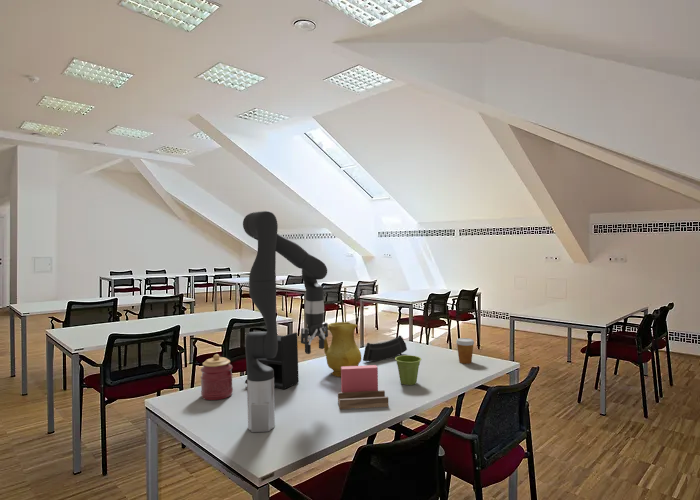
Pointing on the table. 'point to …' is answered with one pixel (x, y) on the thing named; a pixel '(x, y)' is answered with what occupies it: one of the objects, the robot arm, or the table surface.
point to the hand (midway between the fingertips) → (314, 351)
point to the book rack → (362, 399)
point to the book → (359, 378)
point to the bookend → (284, 362)
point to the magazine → (384, 349)
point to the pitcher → (341, 347)
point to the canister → (216, 378)
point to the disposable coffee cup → (465, 350)
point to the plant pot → (408, 368)
